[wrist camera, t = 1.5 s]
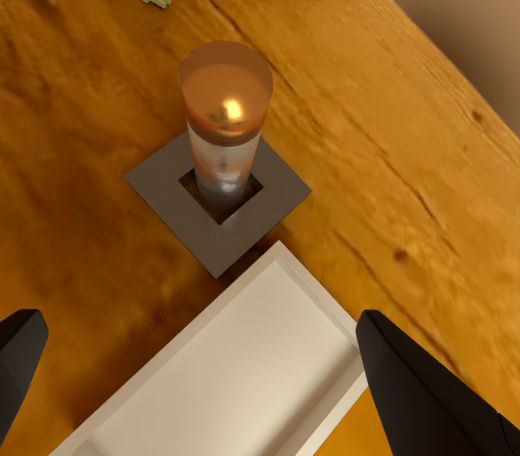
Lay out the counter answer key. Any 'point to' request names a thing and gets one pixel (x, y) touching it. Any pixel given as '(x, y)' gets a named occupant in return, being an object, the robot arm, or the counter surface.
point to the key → (159, 2)
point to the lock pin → (224, 118)
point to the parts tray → (239, 375)
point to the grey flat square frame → (198, 220)
